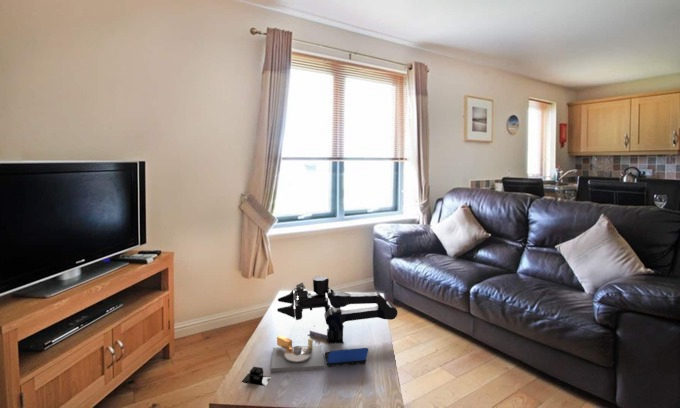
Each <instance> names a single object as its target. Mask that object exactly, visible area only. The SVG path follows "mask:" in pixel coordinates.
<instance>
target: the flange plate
mask: <svg viewBox="0 0 680 408" xmlns="http://www.w3.org/2000/svg"><path fill="white" fill-rule="evenodd" d="M292 344H293V340H292V339H290V338H288V337H285V336H284V335H281V334H280V335H278V336H276V345H277V346H278V347H283V348H285V349H287V350H286V351H285V353H284V357H285V359H286V360H287V361H289V362H292V363H301V362H304V361H307V360H308V359H309V358H310V356H311V352H310V350H309V349H308V348H306V347H303V346H304V345H303V346H302V345H295V346H294V345H292Z"/></svg>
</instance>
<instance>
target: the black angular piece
mask: <svg viewBox="0 0 680 408" xmlns="http://www.w3.org/2000/svg"><path fill="white" fill-rule="evenodd" d="M264 373H265V372H264V370H263V367H260V366H252V368H251V369H250V370H249V373H247V374H246V376H244V378H243V379H242V381H241V383H242V382H243V383H242V384H249V385H257V386H260V387H261V386H262V387H266V386H267V385H268V384H269V382H270V380H271V379H272V377H271V376H268V375H267V376H266V375H264Z"/></svg>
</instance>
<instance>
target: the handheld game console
mask: <svg viewBox="0 0 680 408" xmlns="http://www.w3.org/2000/svg"><path fill="white" fill-rule="evenodd" d="M368 354H369V348H368V347H360V348H349V349H338V350H337V349H336V350H330V351H326V352H325V353H324V358H325V364H326V367H327V368H328V367H329V368H330V367H331V368H332V367H341V366H345V365H347V366H352V365H353V366H354V365H364V364H366V363H367V356H368Z"/></svg>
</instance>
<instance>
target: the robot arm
mask: <svg viewBox="0 0 680 408" xmlns="http://www.w3.org/2000/svg"><path fill="white" fill-rule="evenodd" d="M312 287H313V293H315V294H312V292H308V290H307V289H308V288H306V286H305V284H304V282H301V283H299V284H295V287H294V288H293V289H292V290H291V291H290V293H289V294H286V295H284V296H281V297H278V298H277V302H279V303H285V304H290V305H289V306H284V307H278V308H277V312H278V313H281V314H284V315H287V316H288V317H290V318H293V319H295V320H296V321H299V320H302V318H303V312H304V310H308V309H309V311H313V309H318V308H324V319H325V320H324V321H325V323H326V326H328V328H327V329H326V338H327V342H328V343H329V344H344V323H346V322H351V321H352V322H353V321H359V320H361V321H362V320H368V319H375V318H379V319H382V320H391V321H392V320H395V319H396V318H397V316H398V314H399V313H398V310H397V308H396V306H395V305H394V303H392V302H391V301H388V300H386V298H384V296H382V295H381V294H380V293H379V292H376V291H375V292H360V293H359V292H358V293H357V292H356V293H355V292H354V293H353V292H352V293H350V292H349V293H348V292H345V291H341V290H333V289H332V288H330V287H329V277H327V276H326V277H325V276H320V275H319V276H314V277H313V278H312ZM326 296H327V297H326ZM363 304H364V305H367V304H369V305H370V304H376V306H369V307H364V308H363V307H362V308H361V307H360V308H356V309H355V308H353V309H347V310H344V309H342V308H344V307H347V306H349V305H363Z"/></svg>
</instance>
